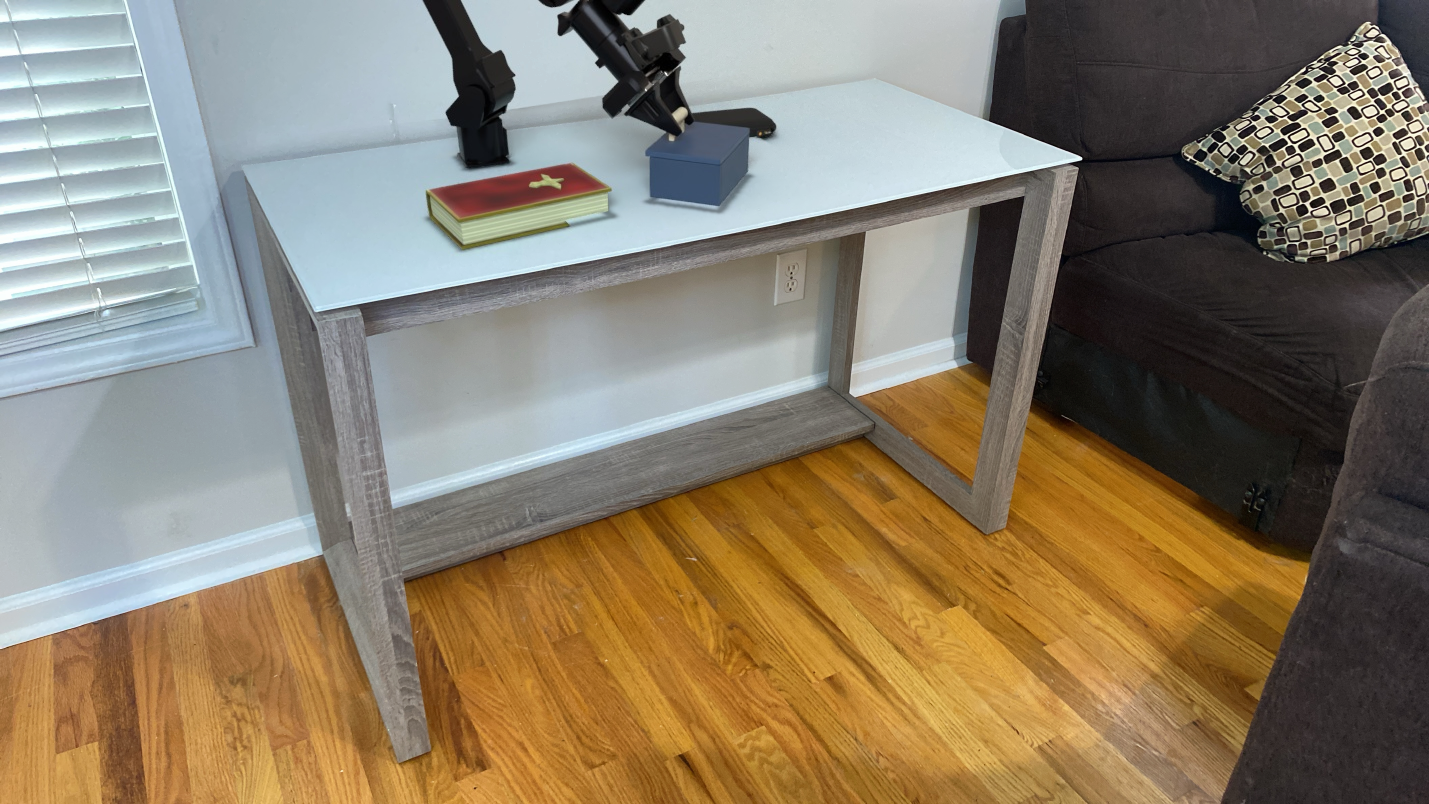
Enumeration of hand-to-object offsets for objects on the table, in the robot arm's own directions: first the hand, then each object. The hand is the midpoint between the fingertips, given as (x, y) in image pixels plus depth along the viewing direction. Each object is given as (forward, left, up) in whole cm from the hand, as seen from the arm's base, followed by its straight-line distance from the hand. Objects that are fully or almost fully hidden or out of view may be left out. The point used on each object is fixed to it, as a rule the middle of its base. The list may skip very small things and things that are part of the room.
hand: (686, 128), depth 134 cm
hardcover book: (-25, -1, -9) cm, 26 cm away
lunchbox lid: (+1, -1, -2) cm, 3 cm away
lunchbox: (+2, -2, -8) cm, 9 cm away
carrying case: (+17, +18, -9) cm, 26 cm away
